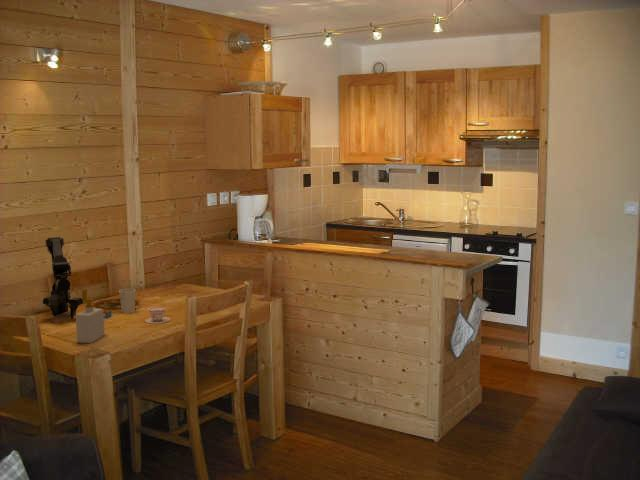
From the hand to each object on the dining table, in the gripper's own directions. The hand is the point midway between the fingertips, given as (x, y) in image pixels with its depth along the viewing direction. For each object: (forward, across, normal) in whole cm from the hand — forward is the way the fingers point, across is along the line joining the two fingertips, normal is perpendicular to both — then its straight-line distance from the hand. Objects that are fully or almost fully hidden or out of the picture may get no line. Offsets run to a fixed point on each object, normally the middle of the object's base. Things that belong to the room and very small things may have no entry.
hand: (63, 318), depth 339 cm
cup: (+1, +24, +19) cm, 31 cm away
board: (+1, +16, +3) cm, 16 cm away
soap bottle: (+1, +30, -25) cm, 39 cm away
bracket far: (0, +16, +7) cm, 17 cm away
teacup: (+2, +45, +10) cm, 46 cm away
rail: (+2, 0, 0) cm, 2 cm away
